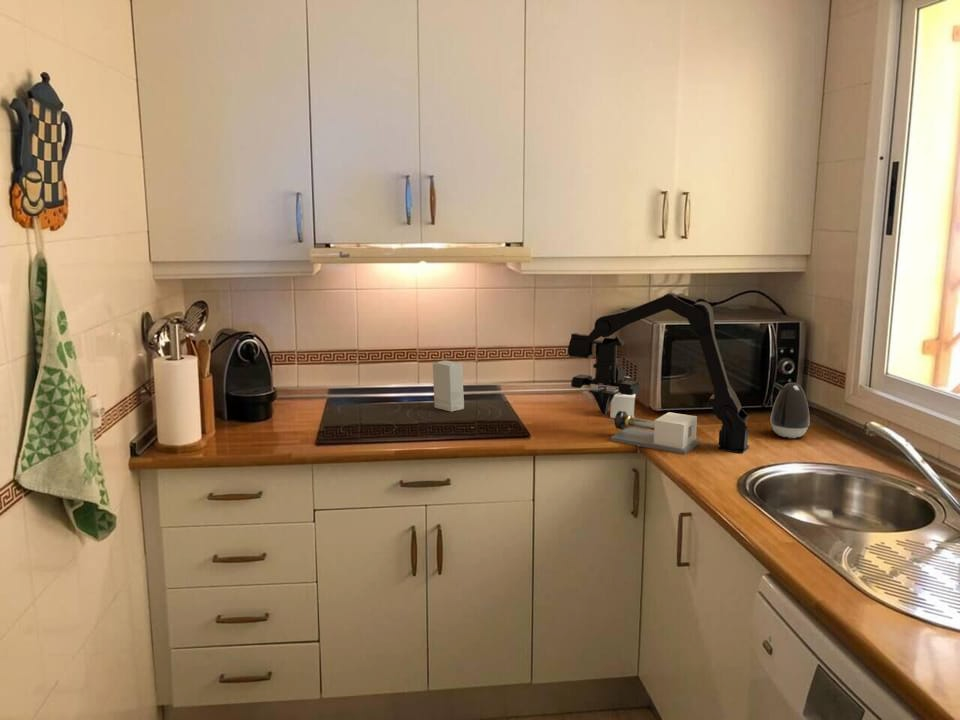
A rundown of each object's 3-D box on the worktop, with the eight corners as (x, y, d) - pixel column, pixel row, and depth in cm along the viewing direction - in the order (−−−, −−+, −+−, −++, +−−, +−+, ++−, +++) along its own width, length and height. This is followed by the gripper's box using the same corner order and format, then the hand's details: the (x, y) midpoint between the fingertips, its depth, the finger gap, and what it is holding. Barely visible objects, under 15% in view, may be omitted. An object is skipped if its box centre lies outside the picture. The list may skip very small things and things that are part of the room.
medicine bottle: (634, 419, 240) (635, 380, 238) (610, 418, 242) (611, 379, 240) (634, 413, 247) (636, 375, 245) (611, 412, 249) (612, 374, 246)
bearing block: (700, 443, 217) (701, 416, 216) (684, 454, 208) (686, 426, 206) (628, 430, 229) (629, 405, 227) (610, 440, 219) (611, 414, 218)
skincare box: (464, 409, 252) (464, 362, 249) (450, 412, 248) (450, 365, 245) (446, 404, 258) (446, 359, 255) (432, 407, 254) (432, 361, 251)
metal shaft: (674, 435, 217) (675, 417, 216) (668, 439, 213) (669, 421, 212) (621, 426, 226) (622, 409, 225) (614, 430, 222) (615, 412, 221)
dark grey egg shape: (778, 428, 232) (782, 377, 229) (814, 435, 224) (819, 382, 222) (762, 435, 225) (766, 382, 222) (798, 443, 217) (803, 388, 215)
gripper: (648, 358, 224) (646, 413, 227) (588, 352, 234) (587, 403, 237) (632, 365, 215) (630, 421, 218) (570, 358, 225) (569, 411, 228)
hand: (604, 414), depth 226 cm, fingers closed
